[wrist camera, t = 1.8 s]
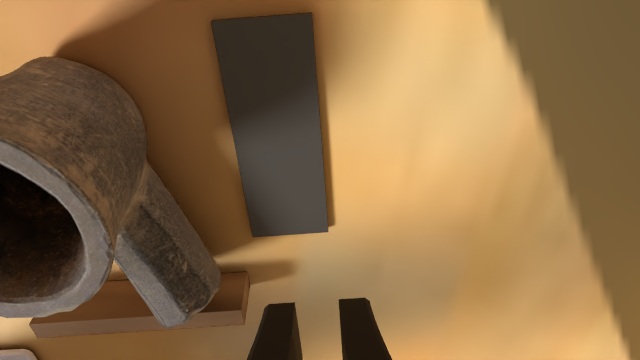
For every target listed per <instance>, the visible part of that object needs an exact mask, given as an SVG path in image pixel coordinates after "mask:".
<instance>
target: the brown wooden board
mask: <svg viewBox="0 0 640 360" xmlns="http://www.w3.org/2000/svg"><path fill="white" fill-rule="evenodd" d="M249 289H250V284H249V279H248V274H247V272H238V273H223V274H221V283H220V289H219V290H218V291H217V292H216V294H215V295H214V296H213V298H212V299H211V301H210V302H209V303H208V305H207V306H206V307H205V308H204V309H202V310H201V311H200V312H198V313H197V314H196V315H195V316H194V317H193V318H192V319H191V320H190V321H188V322H186V323H184V324H181V325H176V326H174V327H173V328H165V327H163V326H162V325H161V324H160V323H159V322H158V320H157V319H156V317H155V316H154V314H153V313H152V311H151V310H150V309H149V307H148V306H147V304H146V303H145V301H144V300H143V299H142V297H141V296H140V295H139V293H138V292H137V290H136V289H135V287H134V286H133V285H132V283H131V282H130V280H120V281H106V282H105V283H104V285H103V286H102V287H101V289H100V290H99V291H98V292H97V293H96V294H95V295H94V296H93V297H92V298H91V299H90V300H88V301H86V302H84V303H82V304H81V305H80V306H78V307H77V308H75V309H74V310H72V311H67V312H58V313H55V314H52V315H49V316H46V317H33V319H32V320H31V322H30V324H29V325H30V327H31V328H32V330H33V332H34V333H35V335H36V336H37V338H48V337H63V336H78V335H94V334H109V333H124V332H139V331H154V330H169V329H184V328H199V327H215V326H230V325H245V318H246V311H247V304H248V296H249Z"/></svg>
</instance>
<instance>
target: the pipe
mask: <svg viewBox="0 0 640 360" xmlns="http://www.w3.org/2000/svg"><path fill="white" fill-rule="evenodd" d="M146 155H147V138H146V131H145V125H144V121H143V118H142V115H141V113H140V111H139V109H138V108H137V106H136V104H135V102H134V101H133V99H132V98H131V97H130V96H129V94H128V93H127V92H126V91H125V90H124V89H123V88H122V87H121V86H120V85H119V84H118V83H117V82H115V81H114V80H113V79H112V78H110V77H109V76H107V75H106V74H104V73H103V72H101V71H98V70H96V69H94V68H91V67H89V66H87V65H84V64H81V63H77V62H74V61H70V60H67V59H64V58H60V57H39V58H36V59H34V60H31V61H29V62H27V63H25V64H24V65H22V66H21V67H20V68H18V69H17V70H15V71H13V72H11V73H9V74H6V75H4V76H1V77H0V316H1V317H5V318H27V317H46V316H49V315H52V314H55V313H58V312H67V311H72V310H74V309H75V308H77V307H78V306H80V305H81V304H82V303H84V302H86V301H88V300H90V299H91V298H92V297H93V296H94V295H95V294H96V293H97V292H98V291H99V290H100V289H101V287H102V286H103V285H104V283H105V282H106V280H107V278H108V276H109V273H110V271H111V268H112V264H113V260H114V261H115V262H116V263H117V264H118V266H119V267H120V268H121V269H122V271H123V272H124V273H125V275H126V276H127V278H128V279H129V280H130V282H131V283H132V285H133V286H134V287H135V289H136V290H137V292H138V293H139V295H140V296H141V297H142V299H143V300H144V301H145V303H146V304H147V306H148V307H149V309H150V310H151V311H152V313H153V314H154V316H155V317H156V319H157V320H158V322H159V323H160V324H161V325H162V326H163V327H165V328H173V327H174V326H176V325H181V324H184V323H186V322H188V321H190V320H191V319H192V318H193V317H194V316H195V315H196V314H197V313H198V312H200V311H201V310H202V309H204V308H205V307H206V306H207V305H208V303H209V302H210V301H211V299H212V298H213V296H214V295H215V294H216V292H217V291H218V290H219V289H220V283H221V274H220V271H219V268H218V266H217V264H216V262H215V261H214V259H213V258H212V256H211V254H210V253H209V251H208V250H207V248H206V247H205V245H204V243H203V242H202V240H201V239H200V237H199V236H198V234H197V233H196V231H195V229H194V228H193V227H192V225H191V224H190V223H189V221H188V220H187V218H186V217H185V215H184V213H183V212H182V210H181V209H180V207H179V206H178V204H177V203H176V201H175V200H174V198H173V197H172V195H171V194H170V192H169V191H168V190H167V189H166V187H165V186H164V184H163V183H162V181H161V180H160V178H159V177H158V176H157V174H156V173H155V172H154V170H153V169H152V168H151V166H150V165H149V164H148V162H147V160H146Z"/></svg>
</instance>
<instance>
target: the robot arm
mask: <svg viewBox="0 0 640 360" xmlns="http://www.w3.org/2000/svg"><path fill="white" fill-rule="evenodd" d="M339 310H340V325H341V340H342V355H343V360H392V358H391V356H390V354H389V352H388V350H387V347H386V345H385V343H384V341H383V338H382V336H381V334H380V331H379V329H378V326H377V323H376V321H375V318H374V315H373V312H372V309H371V305H370V301H369V300H367V299H366V298H354V299H339ZM0 360H37V359H36V357H35V356H34V354H33V353H32V352H31V351H29V350H27V349H11V350H0ZM247 360H303V358H302V350H301V343H300V336H299V329H298V322H297V315H296V309H295V302H294V303H279V304H269V305H267V306H266V307H265V309H264V313H263V316H262V320H261V323H260V326H259V329H258V332H257V335H256V337H255V340H254V343H253V345H252V348H251V350H250V353H249V355H248V358H247Z"/></svg>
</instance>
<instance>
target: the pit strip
mask: <svg viewBox="0 0 640 360" xmlns="http://www.w3.org/2000/svg"><path fill="white" fill-rule="evenodd" d="M211 25H212V30H213V35H214V40H215V45H216V50H217V56H218V61H219V66H220V71H221V76H222V81H223V87H224V92H225V97H226V102H227V107H228V112H229V117H230V123H231V128H232V133H233V138H234V143H235V148H236V153H237V159H238V164H239V169H240V174H241V179H242V184H243V190H244V195H245V200H246V205H247V210H248V215H249V220H250V226H251V231H252V236H253V237H264V236H278V235H293V234H307V233H322V232H328V220H327V206H326V193H325V180H324V167H323V154H322V141H321V127H320V114H319V101H318V88H317V75H316V62H315V48H314V35H313V22H312V12H311V13H298V14H285V15H273V16H260V17H247V18H234V19H221V20H212V22H211Z"/></svg>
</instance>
